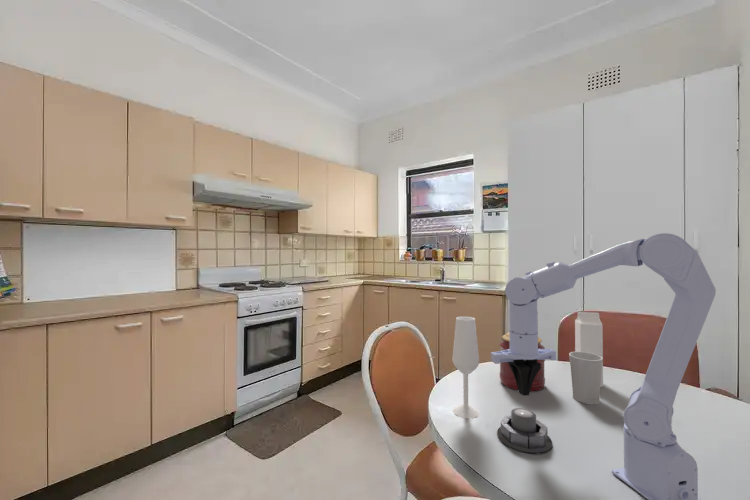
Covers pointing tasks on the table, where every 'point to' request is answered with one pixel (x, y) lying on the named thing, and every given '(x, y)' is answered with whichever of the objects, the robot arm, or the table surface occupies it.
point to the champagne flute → (465, 359)
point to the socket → (525, 438)
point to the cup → (586, 376)
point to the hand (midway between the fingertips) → (523, 393)
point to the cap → (523, 420)
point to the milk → (589, 335)
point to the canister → (507, 374)
